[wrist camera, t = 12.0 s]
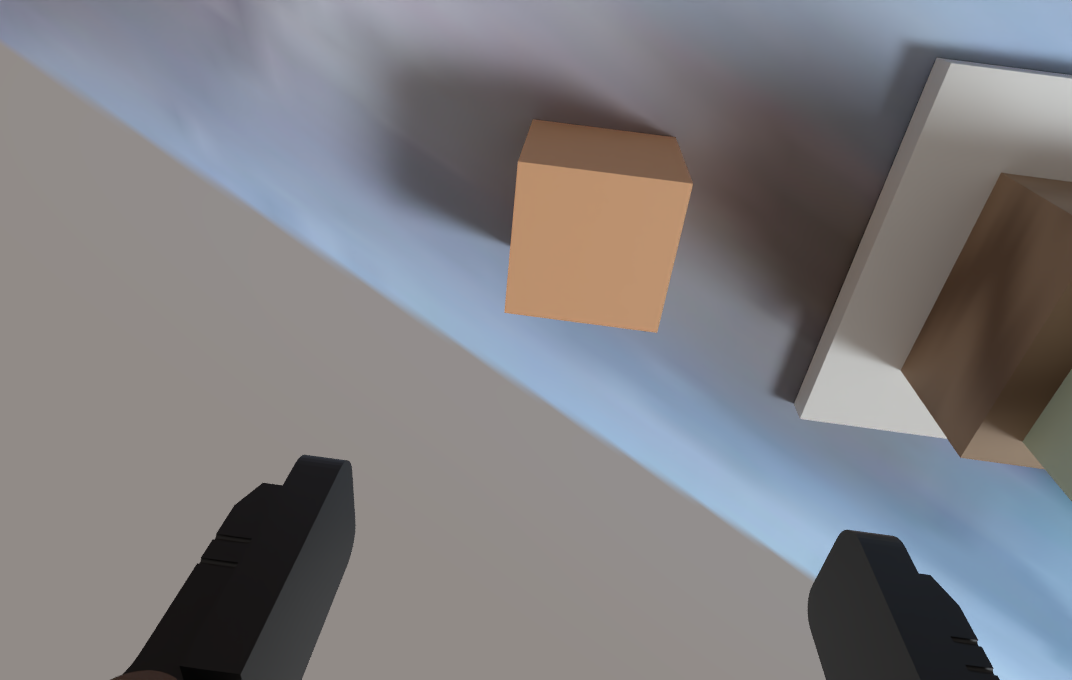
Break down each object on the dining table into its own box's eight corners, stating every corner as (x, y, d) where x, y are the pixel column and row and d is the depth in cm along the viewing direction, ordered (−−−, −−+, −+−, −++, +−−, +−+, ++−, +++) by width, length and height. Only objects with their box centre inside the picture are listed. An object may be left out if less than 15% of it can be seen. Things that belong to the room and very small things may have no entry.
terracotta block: (532, 118, 23) (517, 161, 18) (675, 136, 22) (693, 183, 18) (520, 249, 25) (504, 312, 21) (647, 265, 25) (657, 332, 21)
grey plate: (936, 57, 20) (951, 62, 20) (1382, 115, 20) (1417, 123, 19) (793, 403, 28) (800, 418, 27) (1117, 448, 28) (1134, 464, 27)
